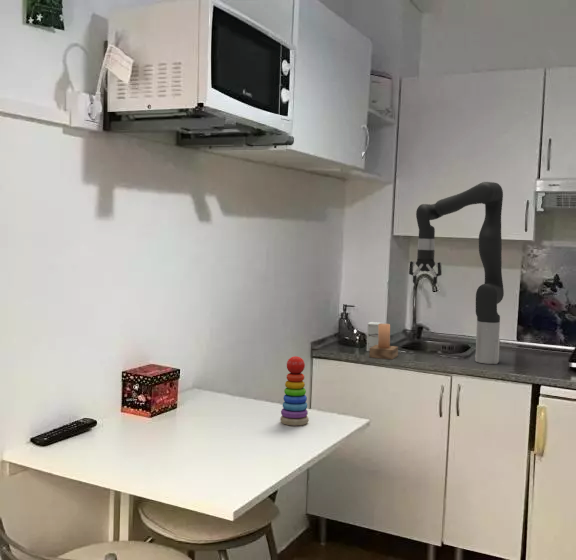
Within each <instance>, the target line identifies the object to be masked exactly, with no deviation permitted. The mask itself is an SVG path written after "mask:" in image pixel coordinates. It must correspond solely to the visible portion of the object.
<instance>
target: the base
mask: <svg viewBox="0 0 576 560" xmlns="http://www.w3.org/2000/svg"><path fill="white" fill-rule="evenodd" d="M368 353H369V356H368V357H369V358H370V359H371V358H372V359H382V360H383V359H385V360H394V359H395V358H397V357H398V356H399V346H396V345H390V348H379V347H378V345H374V346H373V347H371V348H370V351H368Z"/></svg>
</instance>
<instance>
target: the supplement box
mask: <svg viewBox="0 0 576 560" xmlns="http://www.w3.org/2000/svg"><path fill="white" fill-rule="evenodd" d="M381 323H382V322H381V321H380V322H379V321H377V322H376V321H369V322H367V332H366V333H367V334H366V352H369V351H370V348H371V347H373V346H374V345H378V324H381Z"/></svg>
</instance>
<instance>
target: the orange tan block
mask: <svg viewBox="0 0 576 560" xmlns="http://www.w3.org/2000/svg"><path fill="white" fill-rule="evenodd" d="M380 323H381V324H378V347H379V348H390V346H391V324H390V323H386V322H380Z"/></svg>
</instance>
